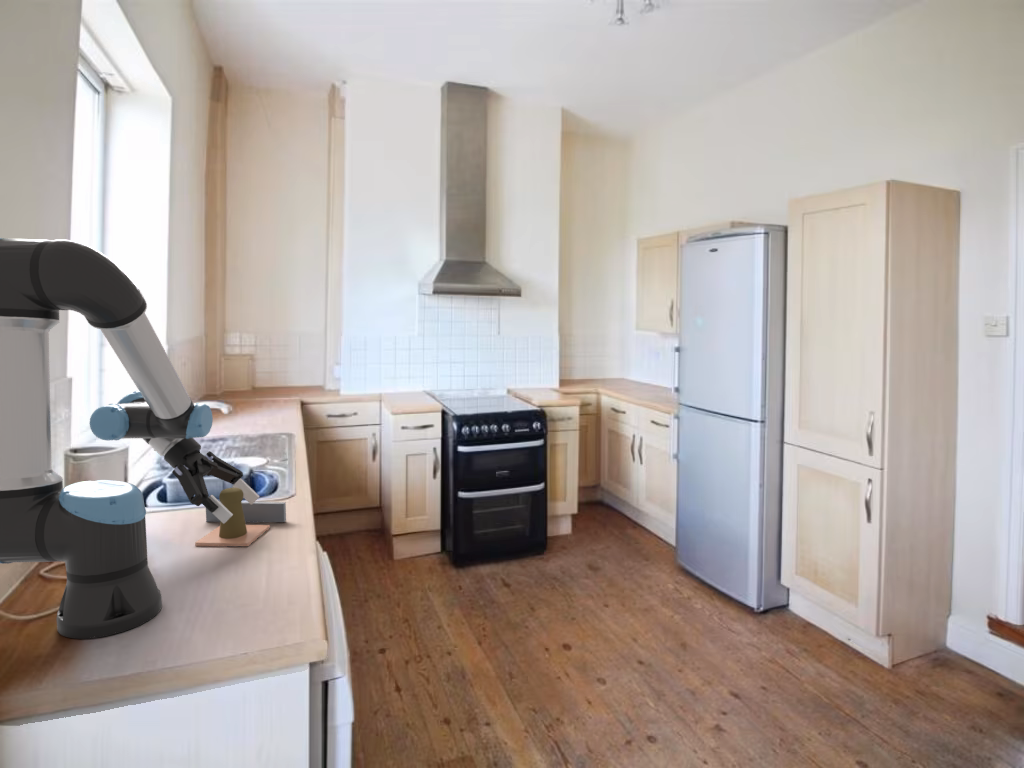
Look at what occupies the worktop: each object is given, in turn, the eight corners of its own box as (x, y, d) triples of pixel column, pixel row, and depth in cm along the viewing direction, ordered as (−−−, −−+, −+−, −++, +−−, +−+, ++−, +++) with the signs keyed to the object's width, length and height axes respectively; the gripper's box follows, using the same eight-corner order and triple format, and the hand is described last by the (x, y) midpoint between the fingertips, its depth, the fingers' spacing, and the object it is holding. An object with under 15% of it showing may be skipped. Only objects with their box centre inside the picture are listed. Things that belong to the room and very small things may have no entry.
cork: (252, 530, 144) (250, 485, 143) (238, 539, 138) (236, 493, 137) (228, 528, 144) (226, 484, 143) (213, 538, 138) (211, 491, 137)
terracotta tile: (247, 546, 135) (247, 543, 135) (195, 545, 136) (195, 542, 136) (269, 528, 147) (269, 525, 147) (221, 527, 148) (221, 524, 147)
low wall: (284, 522, 151) (283, 503, 151) (206, 521, 152) (205, 502, 151) (286, 521, 152) (285, 502, 152) (208, 520, 153) (207, 501, 152)
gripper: (195, 445, 152) (255, 503, 153) (130, 470, 127) (203, 539, 129) (214, 425, 151) (275, 484, 153) (154, 446, 127) (227, 516, 128)
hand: (242, 509), depth 141 cm, fingers open, 13 cm apart
